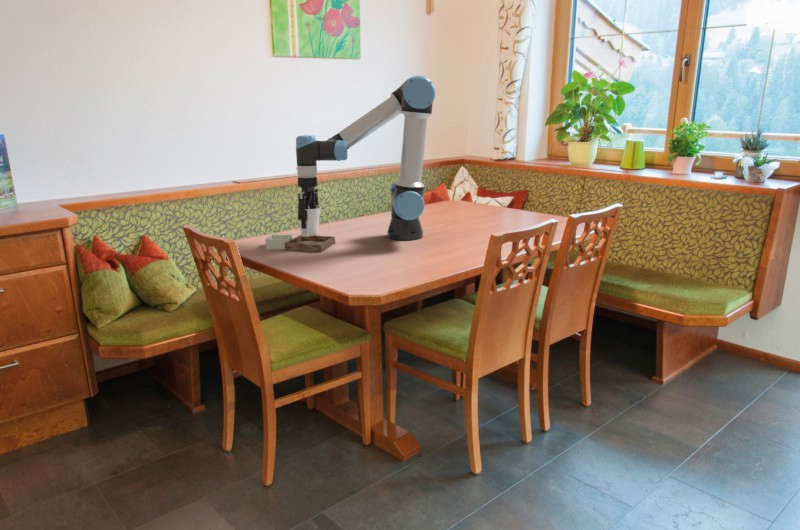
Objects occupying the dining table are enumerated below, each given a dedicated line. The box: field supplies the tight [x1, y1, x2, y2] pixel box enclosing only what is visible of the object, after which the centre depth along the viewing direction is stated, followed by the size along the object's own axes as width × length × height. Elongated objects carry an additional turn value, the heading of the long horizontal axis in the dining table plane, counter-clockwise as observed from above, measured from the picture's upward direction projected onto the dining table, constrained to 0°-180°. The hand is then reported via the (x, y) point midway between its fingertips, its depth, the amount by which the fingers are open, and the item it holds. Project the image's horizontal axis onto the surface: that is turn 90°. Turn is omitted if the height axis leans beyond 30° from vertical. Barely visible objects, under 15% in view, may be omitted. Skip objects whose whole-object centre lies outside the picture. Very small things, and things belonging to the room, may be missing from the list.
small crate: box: [264, 233, 294, 251], centre depth 240 cm, size 9×9×4 cm
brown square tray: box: [284, 234, 336, 253], centre depth 240 cm, size 15×15×3 cm
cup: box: [295, 205, 322, 236], centre depth 238 cm, size 10×10×11 cm
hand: (309, 233), depth 239 cm, fingers closed on cup, 8 cm apart
